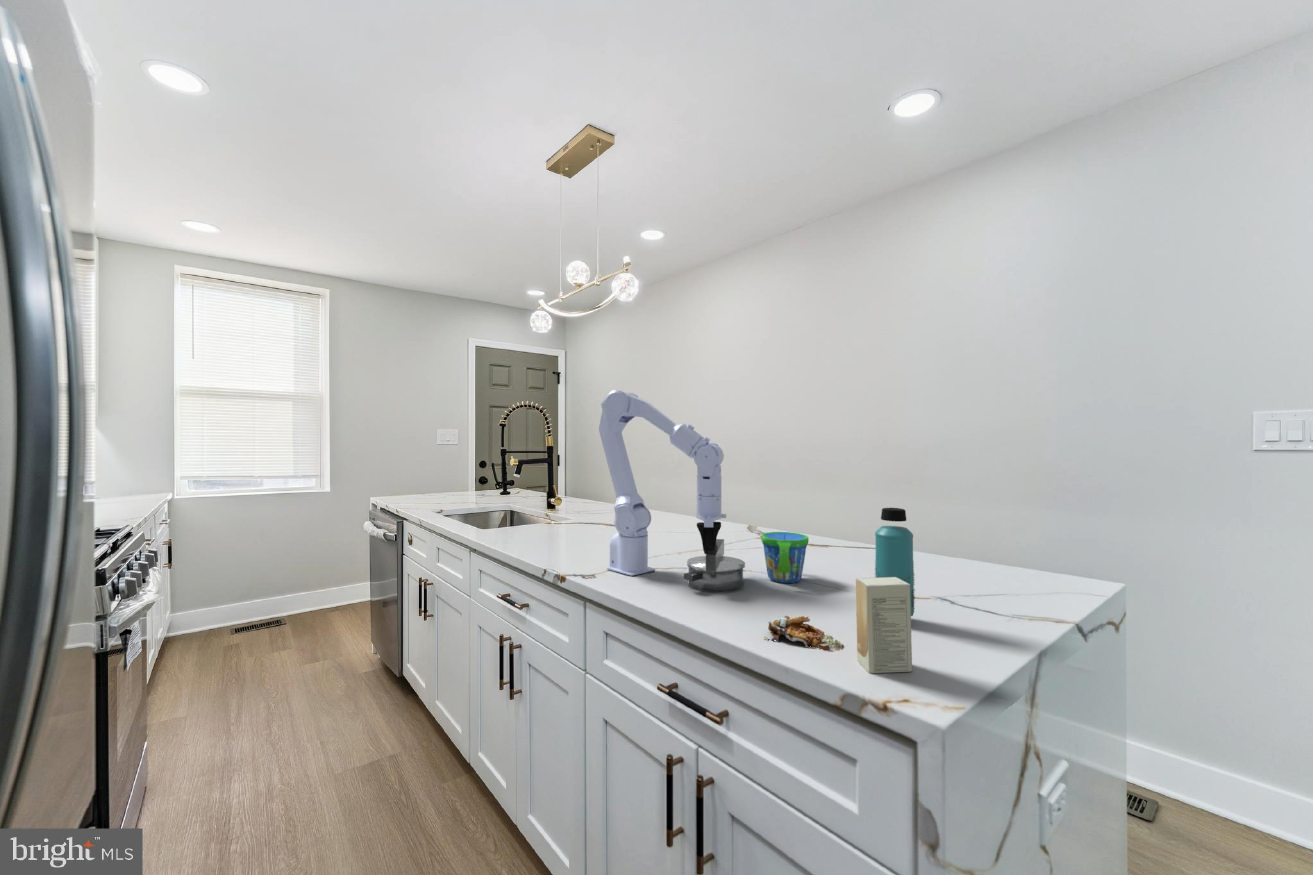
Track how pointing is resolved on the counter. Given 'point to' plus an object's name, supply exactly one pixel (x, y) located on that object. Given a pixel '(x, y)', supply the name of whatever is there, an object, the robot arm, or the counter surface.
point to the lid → (715, 560)
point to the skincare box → (883, 624)
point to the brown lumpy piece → (802, 633)
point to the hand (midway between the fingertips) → (708, 553)
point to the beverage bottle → (895, 551)
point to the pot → (715, 580)
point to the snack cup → (784, 555)
